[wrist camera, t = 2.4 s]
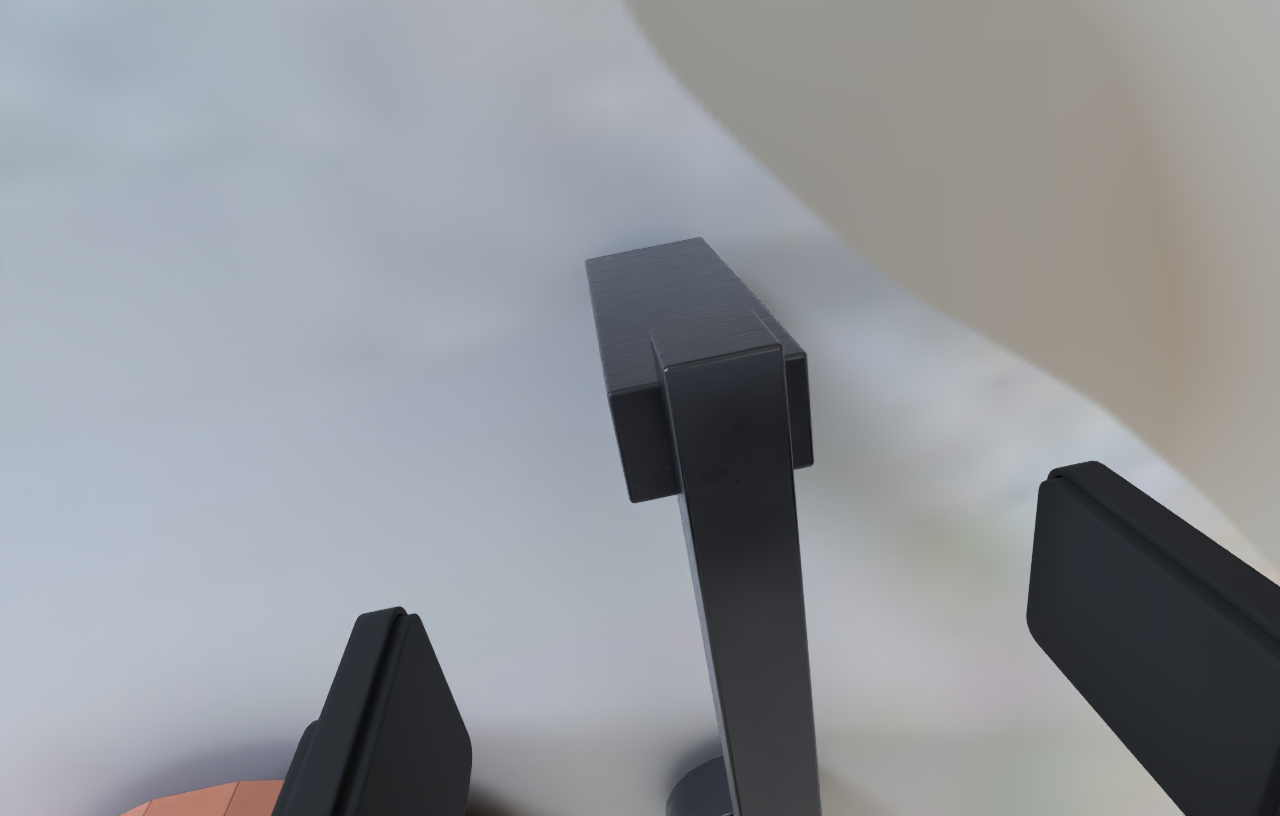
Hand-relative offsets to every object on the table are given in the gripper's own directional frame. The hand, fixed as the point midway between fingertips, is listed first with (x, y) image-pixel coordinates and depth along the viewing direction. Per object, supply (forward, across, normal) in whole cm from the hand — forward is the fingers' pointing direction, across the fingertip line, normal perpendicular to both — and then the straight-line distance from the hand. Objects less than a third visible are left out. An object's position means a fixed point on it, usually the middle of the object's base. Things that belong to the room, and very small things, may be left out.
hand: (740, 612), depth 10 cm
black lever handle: (+6, 0, +5) cm, 8 cm away
